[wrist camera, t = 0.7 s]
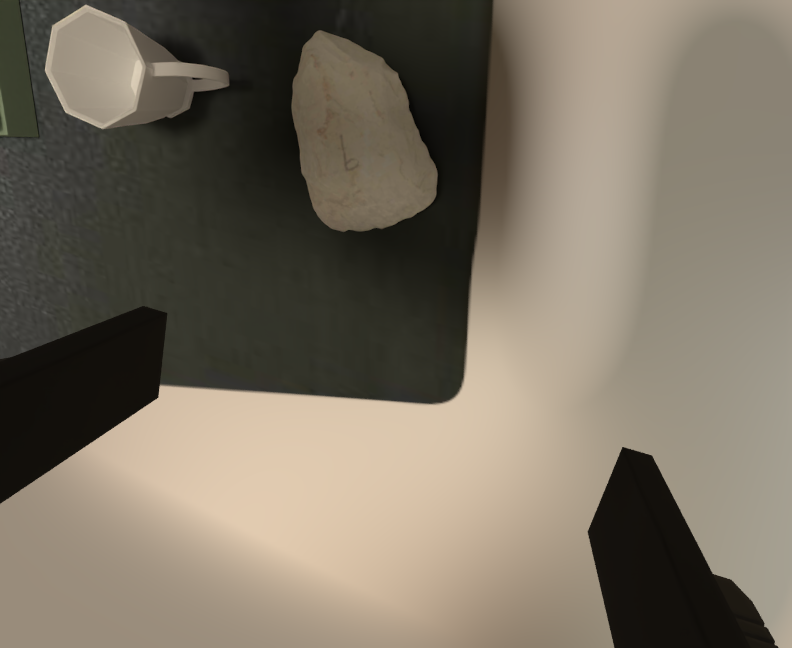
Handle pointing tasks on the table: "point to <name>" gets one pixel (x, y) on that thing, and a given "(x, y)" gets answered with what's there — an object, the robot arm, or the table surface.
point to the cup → (120, 72)
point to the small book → (14, 76)
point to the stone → (358, 138)
